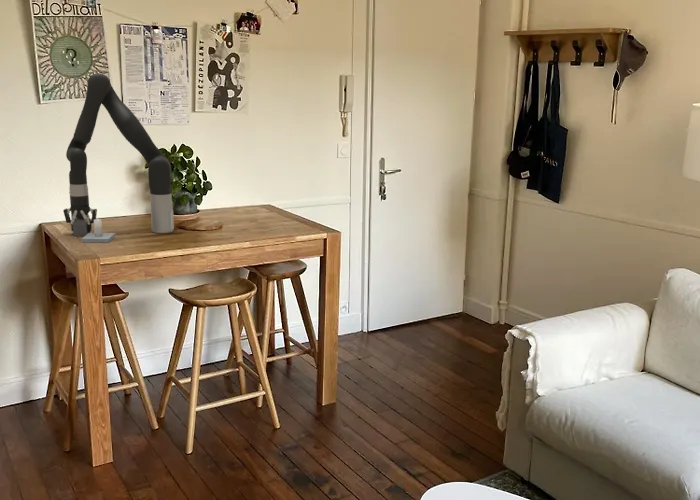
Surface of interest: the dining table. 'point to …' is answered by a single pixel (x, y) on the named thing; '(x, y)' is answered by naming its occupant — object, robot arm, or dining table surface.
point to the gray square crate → (80, 228)
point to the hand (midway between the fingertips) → (81, 232)
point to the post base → (98, 239)
